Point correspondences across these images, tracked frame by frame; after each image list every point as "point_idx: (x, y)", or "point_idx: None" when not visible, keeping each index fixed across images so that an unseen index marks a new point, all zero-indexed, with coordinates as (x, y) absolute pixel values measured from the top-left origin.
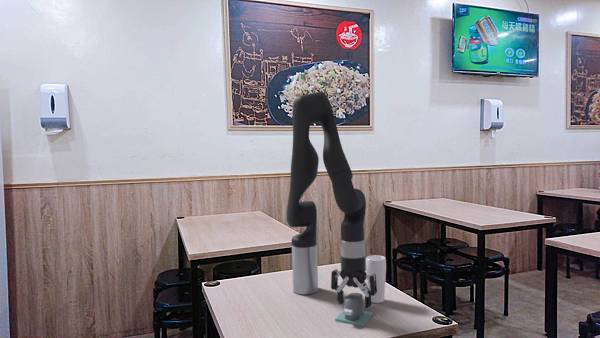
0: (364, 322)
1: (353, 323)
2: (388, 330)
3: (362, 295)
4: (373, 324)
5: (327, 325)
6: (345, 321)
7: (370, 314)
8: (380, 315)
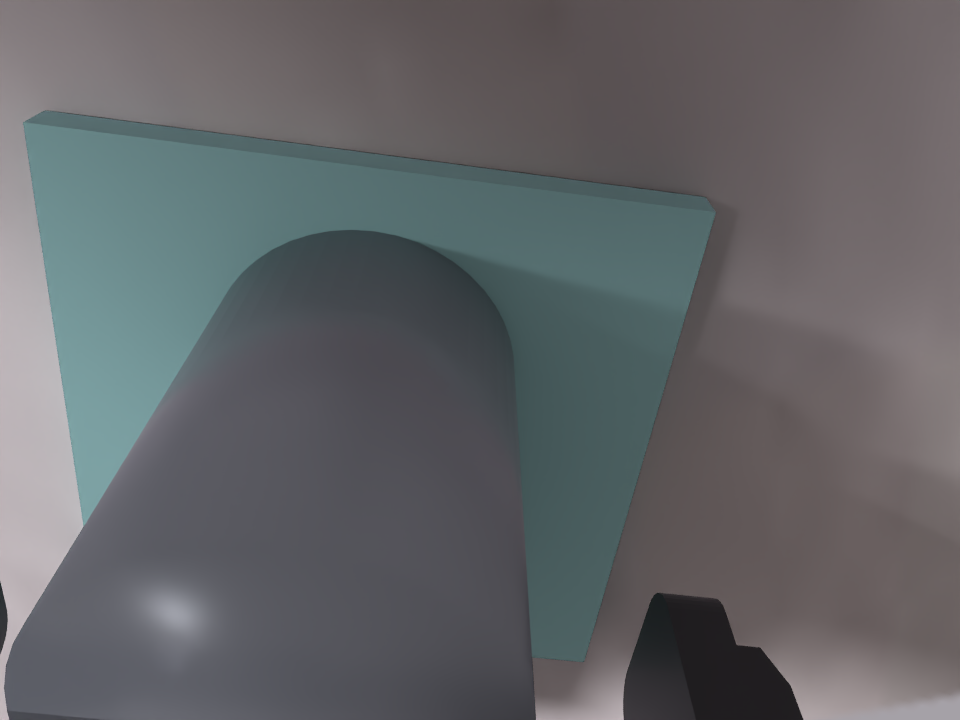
0: (596, 619)
1: None
2: (956, 655)
3: (525, 699)
4: (733, 556)
5: None
6: None
7: (669, 313)
8: (876, 184)
